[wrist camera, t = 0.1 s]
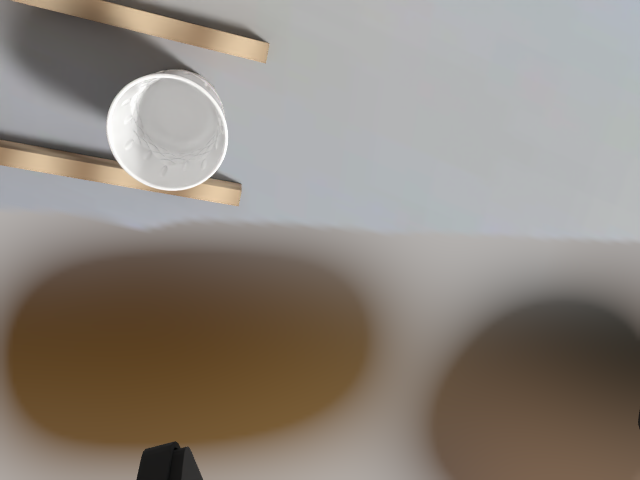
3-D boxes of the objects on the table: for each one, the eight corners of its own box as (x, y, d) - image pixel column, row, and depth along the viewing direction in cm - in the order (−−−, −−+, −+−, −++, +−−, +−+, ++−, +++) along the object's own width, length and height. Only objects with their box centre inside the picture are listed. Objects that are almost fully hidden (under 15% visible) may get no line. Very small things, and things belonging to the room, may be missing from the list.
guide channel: (-96, 139, 39) (-112, 145, 37) (-111, -55, 34) (-130, -59, 32) (238, 198, 46) (238, 206, 44) (267, 42, 41) (269, 43, 39)
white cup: (126, 141, 42) (97, 174, 33) (143, 48, 39) (116, 56, 30) (217, 165, 44) (212, 203, 35) (239, 79, 41) (240, 95, 32)
